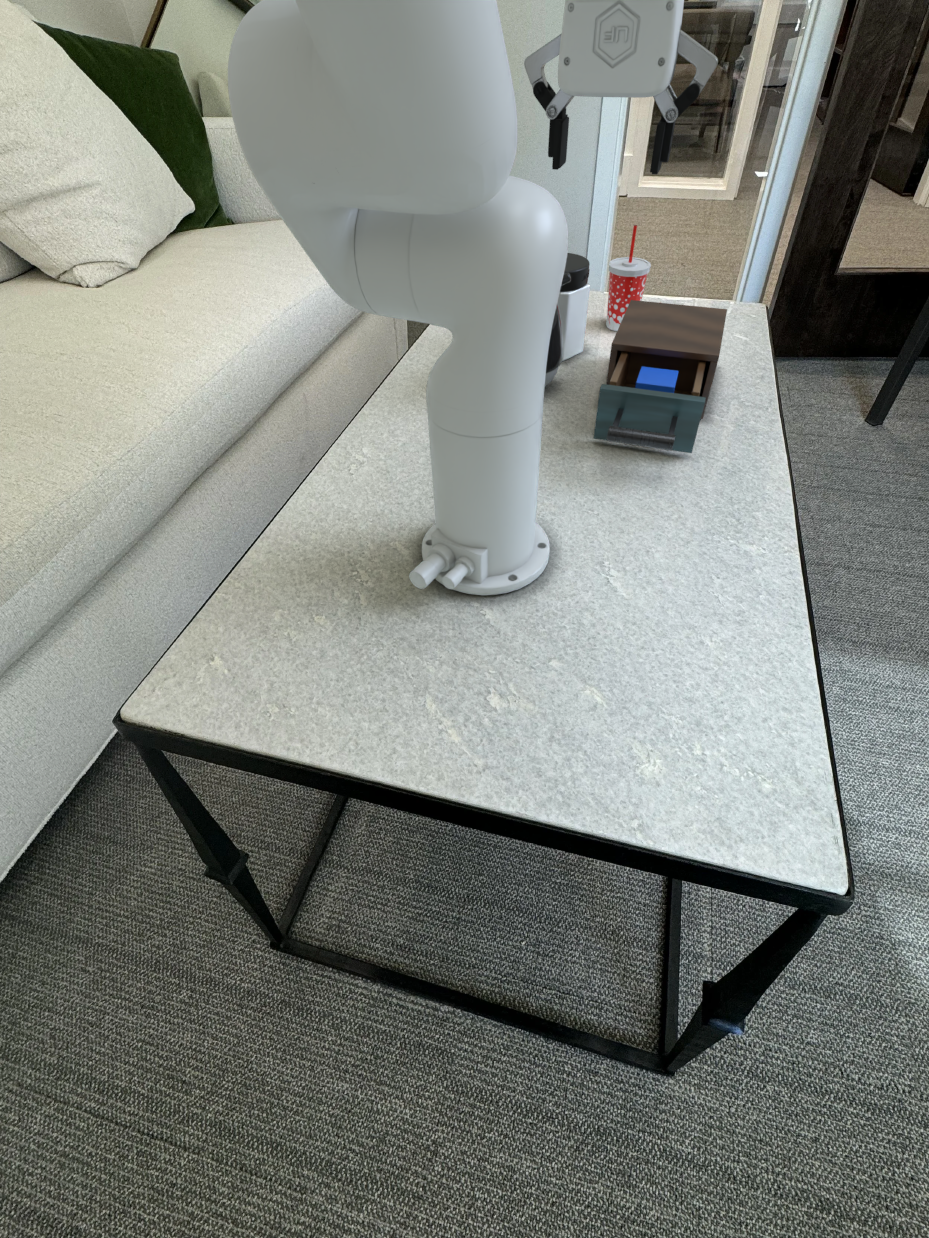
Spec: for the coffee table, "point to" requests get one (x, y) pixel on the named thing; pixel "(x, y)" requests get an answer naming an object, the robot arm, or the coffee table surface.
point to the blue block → (657, 379)
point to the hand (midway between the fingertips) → (606, 168)
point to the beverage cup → (625, 284)
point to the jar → (574, 305)
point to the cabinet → (671, 335)
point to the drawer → (651, 404)
